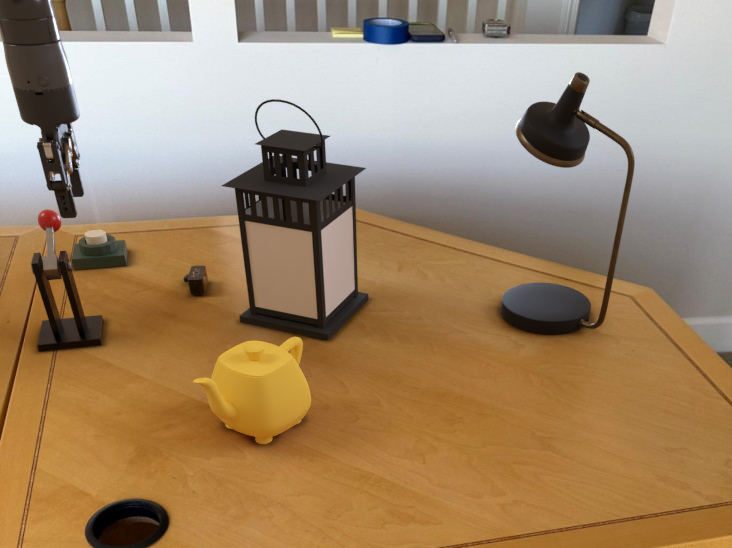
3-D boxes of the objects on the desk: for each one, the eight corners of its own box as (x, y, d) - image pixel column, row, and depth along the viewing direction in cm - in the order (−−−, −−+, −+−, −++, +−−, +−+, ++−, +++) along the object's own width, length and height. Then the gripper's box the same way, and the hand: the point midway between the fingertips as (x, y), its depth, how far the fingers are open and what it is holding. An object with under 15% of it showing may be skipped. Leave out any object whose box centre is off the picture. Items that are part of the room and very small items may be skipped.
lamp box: (74, 270, 152) (68, 250, 150) (77, 254, 158) (71, 234, 155) (126, 265, 154) (122, 246, 151) (127, 250, 160) (123, 230, 157)
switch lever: (41, 221, 130) (34, 205, 127) (63, 220, 131) (57, 203, 127) (44, 283, 125) (37, 267, 122) (67, 281, 126) (61, 265, 123)
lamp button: (86, 246, 152) (83, 237, 151) (87, 239, 155) (84, 230, 154) (107, 245, 153) (105, 236, 151) (107, 237, 155) (105, 228, 154)
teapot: (176, 439, 110) (159, 362, 102) (274, 381, 122) (265, 308, 114) (243, 474, 104) (230, 395, 96) (338, 410, 116) (335, 335, 108)
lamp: (533, 284, 150) (564, 55, 124) (627, 324, 138) (683, 79, 112) (477, 309, 141) (497, 69, 116) (572, 353, 130) (618, 97, 104)
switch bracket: (44, 326, 135) (19, 248, 126) (103, 321, 137) (83, 243, 127) (39, 351, 128) (12, 271, 119) (101, 345, 130) (79, 265, 121)
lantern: (368, 299, 144) (364, 88, 121) (328, 340, 132) (315, 114, 109) (286, 283, 149) (267, 77, 125) (240, 322, 137) (209, 101, 113)
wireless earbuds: (209, 279, 150) (206, 263, 148) (205, 296, 144) (202, 279, 142) (184, 280, 149) (181, 264, 147) (179, 296, 144) (176, 280, 142)
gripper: (21, 68, 106) (53, 190, 117) (0, 94, 96) (38, 225, 107) (78, 67, 107) (105, 189, 118) (64, 93, 97) (94, 223, 108)
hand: (73, 206), depth 112 cm, fingers open, 8 cm apart
